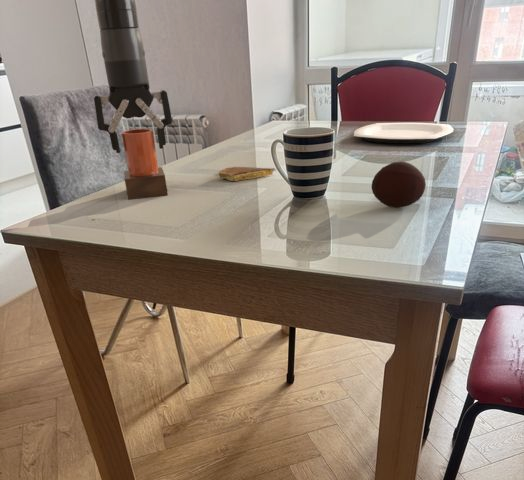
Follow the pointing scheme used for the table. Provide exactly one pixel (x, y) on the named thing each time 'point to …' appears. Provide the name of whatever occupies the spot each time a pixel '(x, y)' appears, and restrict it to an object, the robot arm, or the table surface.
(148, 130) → the cup
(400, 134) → the plate
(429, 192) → the table surface
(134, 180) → the block
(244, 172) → the cake slice
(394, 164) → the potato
